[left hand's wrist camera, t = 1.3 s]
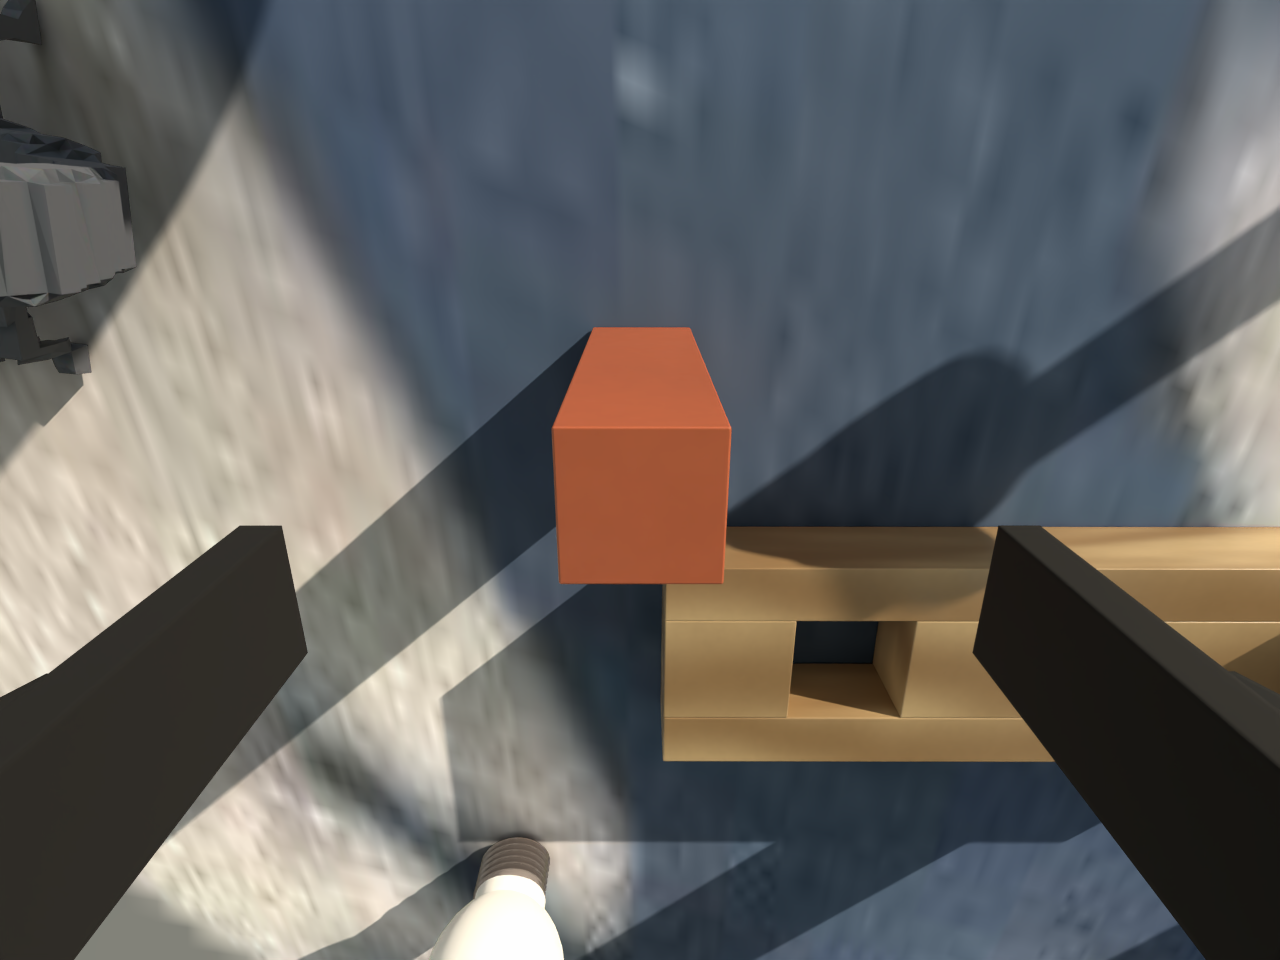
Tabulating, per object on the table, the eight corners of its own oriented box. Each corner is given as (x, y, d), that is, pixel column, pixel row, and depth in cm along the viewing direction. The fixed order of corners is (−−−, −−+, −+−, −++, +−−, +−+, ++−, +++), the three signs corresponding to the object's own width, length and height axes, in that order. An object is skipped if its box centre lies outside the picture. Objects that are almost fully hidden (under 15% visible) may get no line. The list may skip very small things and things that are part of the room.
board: (662, 526, 32) (675, 699, 20) (1406, 527, 31) (1827, 701, 20) (660, 703, 35) (669, 932, 24) (1326, 704, 35) (1646, 935, 24)
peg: (592, 327, 28) (550, 426, 15) (690, 327, 28) (732, 426, 15) (595, 420, 30) (559, 585, 17) (687, 420, 30) (723, 585, 17)
